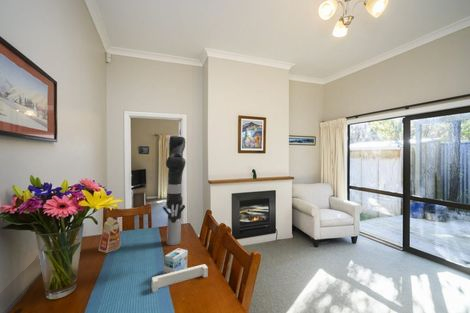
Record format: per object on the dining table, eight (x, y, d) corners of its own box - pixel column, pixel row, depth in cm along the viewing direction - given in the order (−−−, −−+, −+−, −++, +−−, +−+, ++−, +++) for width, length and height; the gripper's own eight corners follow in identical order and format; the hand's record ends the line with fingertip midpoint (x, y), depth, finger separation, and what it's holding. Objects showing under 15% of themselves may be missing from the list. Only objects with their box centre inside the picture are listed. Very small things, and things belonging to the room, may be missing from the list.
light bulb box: (173, 281, 95) (174, 258, 95) (163, 277, 98) (164, 255, 98) (187, 270, 105) (188, 250, 105) (177, 267, 108) (178, 247, 108)
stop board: (151, 287, 90) (152, 277, 90) (204, 272, 103) (204, 263, 104) (152, 292, 87) (153, 282, 87) (207, 276, 100) (208, 267, 100)
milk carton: (98, 250, 124) (100, 218, 124) (112, 244, 132) (113, 214, 133) (108, 253, 121) (109, 220, 121) (121, 247, 129) (123, 216, 130)
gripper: (184, 190, 119) (182, 219, 119) (161, 191, 112) (159, 222, 112) (188, 192, 113) (186, 222, 112) (164, 193, 106) (162, 226, 105)
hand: (173, 222), depth 112 cm, fingers closed
